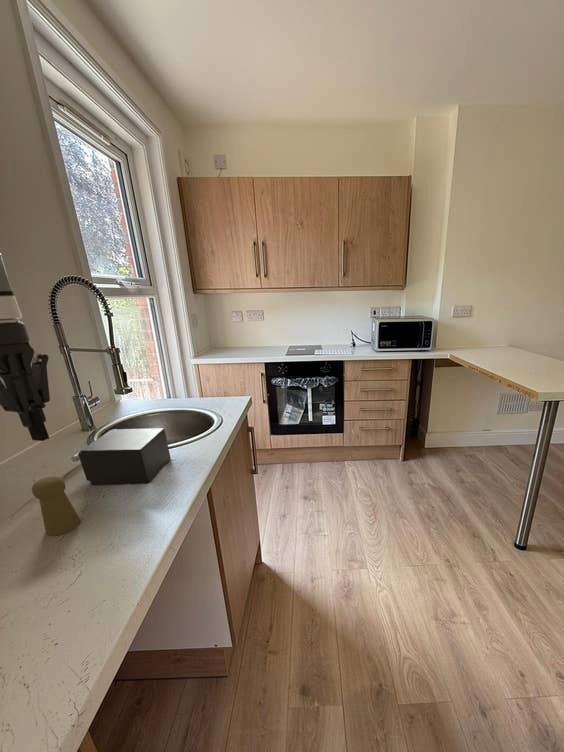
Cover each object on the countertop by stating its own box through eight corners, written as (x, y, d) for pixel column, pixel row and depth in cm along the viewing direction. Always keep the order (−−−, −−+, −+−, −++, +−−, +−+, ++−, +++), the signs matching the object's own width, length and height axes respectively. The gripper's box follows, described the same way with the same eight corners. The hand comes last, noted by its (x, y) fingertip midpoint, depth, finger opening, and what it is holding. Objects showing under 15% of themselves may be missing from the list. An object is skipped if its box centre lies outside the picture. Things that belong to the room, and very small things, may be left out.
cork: (81, 528, 71) (64, 481, 67) (44, 539, 68) (24, 491, 64) (80, 513, 76) (64, 469, 72) (46, 524, 73) (27, 478, 69)
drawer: (69, 481, 87) (59, 453, 84) (99, 458, 99) (91, 433, 96) (140, 479, 87) (133, 451, 84) (161, 457, 99) (155, 432, 96)
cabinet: (91, 485, 87) (79, 450, 83) (120, 460, 100) (111, 429, 96) (149, 484, 87) (140, 449, 83) (171, 459, 100) (164, 428, 96)
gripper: (17, 318, 70) (55, 426, 80) (-61, 325, 59) (-7, 451, 68) (47, 318, 69) (82, 428, 78) (-28, 325, 57) (23, 454, 66)
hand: (40, 439), depth 73 cm, fingers closed
